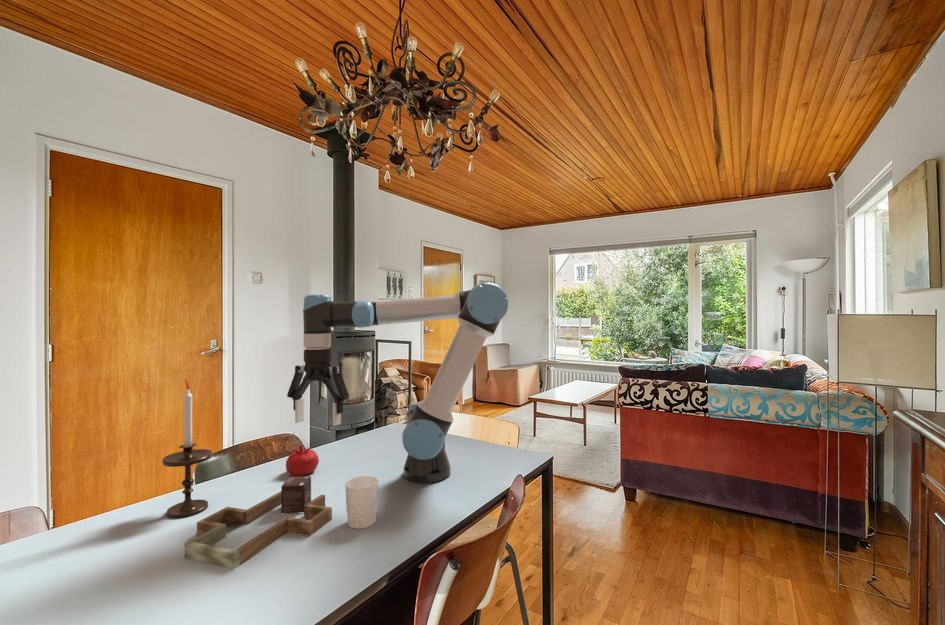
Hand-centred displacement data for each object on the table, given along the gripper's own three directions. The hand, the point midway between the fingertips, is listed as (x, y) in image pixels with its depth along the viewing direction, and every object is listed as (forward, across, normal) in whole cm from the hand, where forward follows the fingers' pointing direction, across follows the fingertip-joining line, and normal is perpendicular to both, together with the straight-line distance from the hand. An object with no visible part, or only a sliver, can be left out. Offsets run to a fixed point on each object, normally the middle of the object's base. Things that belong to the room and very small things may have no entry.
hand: (317, 423), depth 121 cm
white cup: (+21, -21, +11) cm, 32 cm away
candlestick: (+20, +27, +18) cm, 38 cm away
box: (+21, 0, +9) cm, 22 cm away
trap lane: (+20, 0, +21) cm, 29 cm away
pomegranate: (+21, +16, -13) cm, 29 cm away
